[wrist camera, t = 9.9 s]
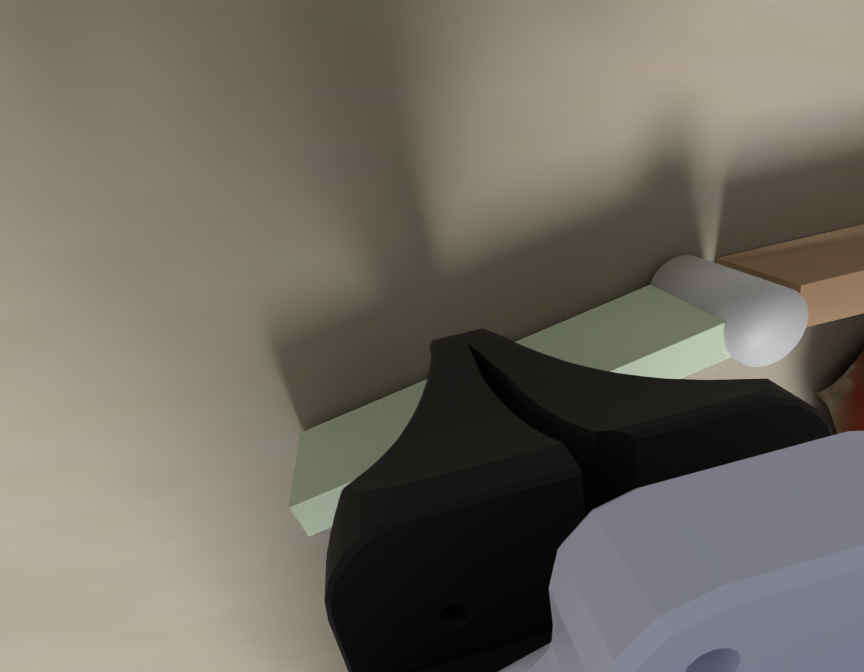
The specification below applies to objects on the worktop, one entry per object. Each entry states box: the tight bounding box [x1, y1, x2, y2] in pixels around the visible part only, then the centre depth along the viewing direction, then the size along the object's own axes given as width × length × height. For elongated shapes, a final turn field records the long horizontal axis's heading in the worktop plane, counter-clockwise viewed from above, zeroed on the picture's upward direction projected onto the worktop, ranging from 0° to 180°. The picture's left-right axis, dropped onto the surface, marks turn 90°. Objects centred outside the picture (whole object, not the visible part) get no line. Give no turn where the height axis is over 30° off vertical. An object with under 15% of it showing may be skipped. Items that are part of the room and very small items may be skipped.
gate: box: [289, 255, 808, 537], centre depth 13 cm, size 13×2×3 cm, turn 111°
